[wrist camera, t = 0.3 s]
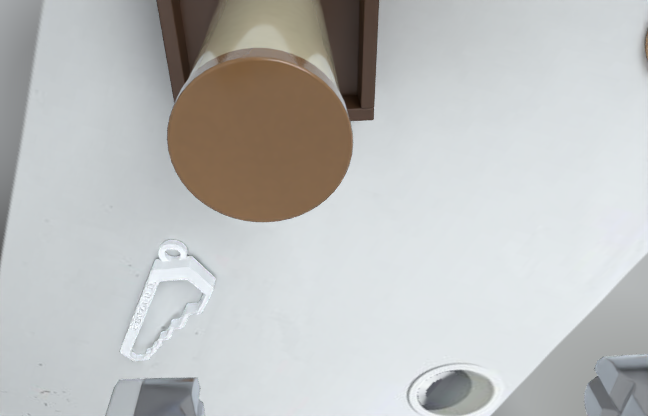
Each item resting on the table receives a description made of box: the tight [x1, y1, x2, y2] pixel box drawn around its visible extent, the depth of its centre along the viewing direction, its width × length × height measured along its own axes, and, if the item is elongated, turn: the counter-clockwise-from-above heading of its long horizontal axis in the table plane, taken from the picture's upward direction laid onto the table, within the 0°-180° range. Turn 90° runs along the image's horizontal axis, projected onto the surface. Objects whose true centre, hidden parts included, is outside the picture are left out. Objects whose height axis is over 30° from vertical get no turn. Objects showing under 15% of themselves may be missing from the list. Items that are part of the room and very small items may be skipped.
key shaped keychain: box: [120, 240, 216, 361], centre depth 45 cm, size 13×5×2 cm, turn 154°
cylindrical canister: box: [167, 0, 353, 222], centre depth 24 cm, size 6×6×16 cm
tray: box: [157, 0, 379, 121], centre depth 31 cm, size 12×12×4 cm
